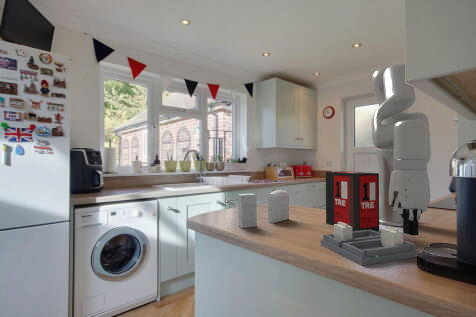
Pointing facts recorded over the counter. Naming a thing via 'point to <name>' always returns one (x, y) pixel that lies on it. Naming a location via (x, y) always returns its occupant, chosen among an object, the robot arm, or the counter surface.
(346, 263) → the counter surface
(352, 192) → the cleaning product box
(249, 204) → the skincare box
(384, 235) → the tab
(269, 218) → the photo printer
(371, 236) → the switch board
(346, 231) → the tab
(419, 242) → the counter surface
